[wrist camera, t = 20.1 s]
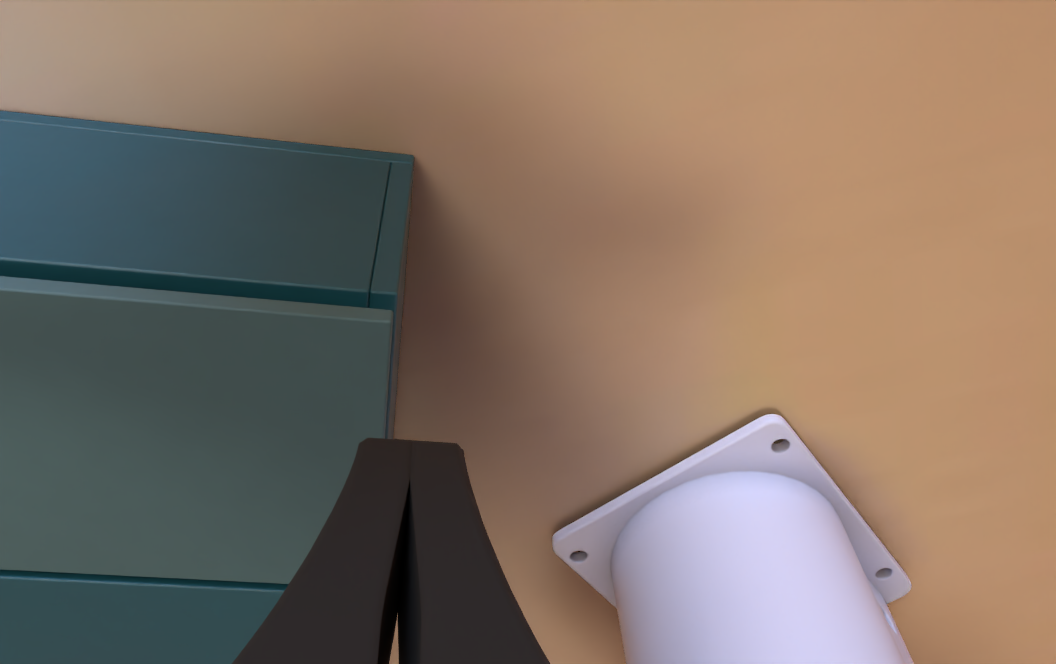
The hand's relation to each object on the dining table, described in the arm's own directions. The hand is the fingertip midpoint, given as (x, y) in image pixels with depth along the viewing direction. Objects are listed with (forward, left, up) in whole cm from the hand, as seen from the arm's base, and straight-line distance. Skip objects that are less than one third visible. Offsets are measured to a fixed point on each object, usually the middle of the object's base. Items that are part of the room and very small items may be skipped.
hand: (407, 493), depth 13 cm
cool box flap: (+3, +7, -4) cm, 9 cm away
